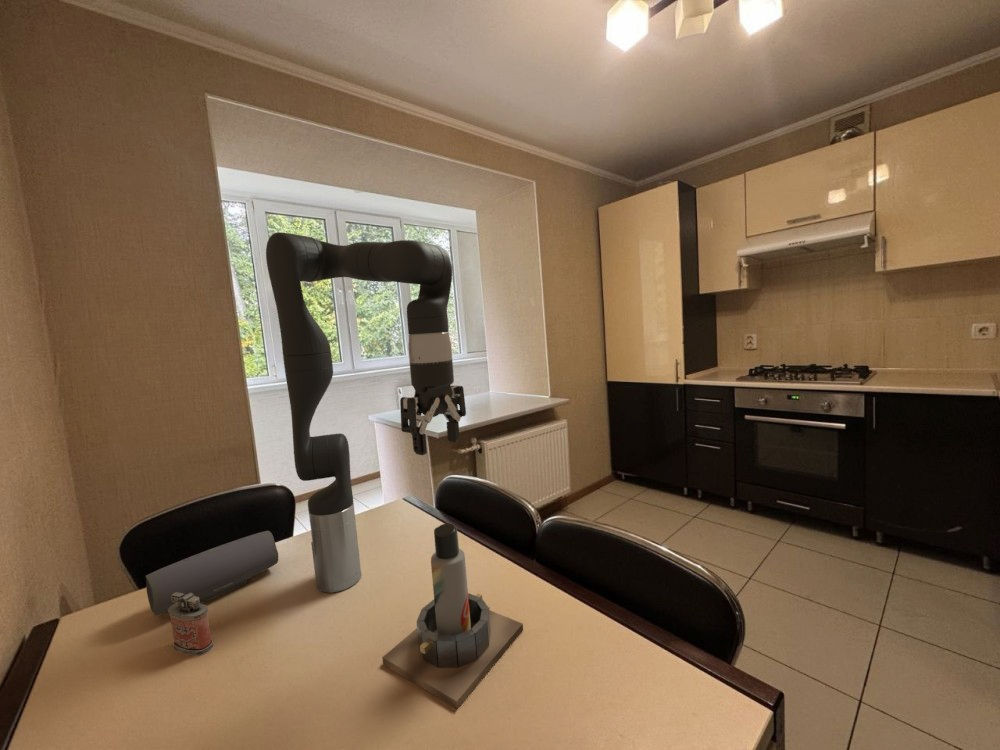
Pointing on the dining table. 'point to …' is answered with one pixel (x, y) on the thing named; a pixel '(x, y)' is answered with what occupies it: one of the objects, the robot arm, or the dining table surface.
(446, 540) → the lotion bottle
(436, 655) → the ring
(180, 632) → the lighter
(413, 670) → the base plate
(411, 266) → the robot arm
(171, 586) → the bluetooth speaker
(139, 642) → the dining table surface
